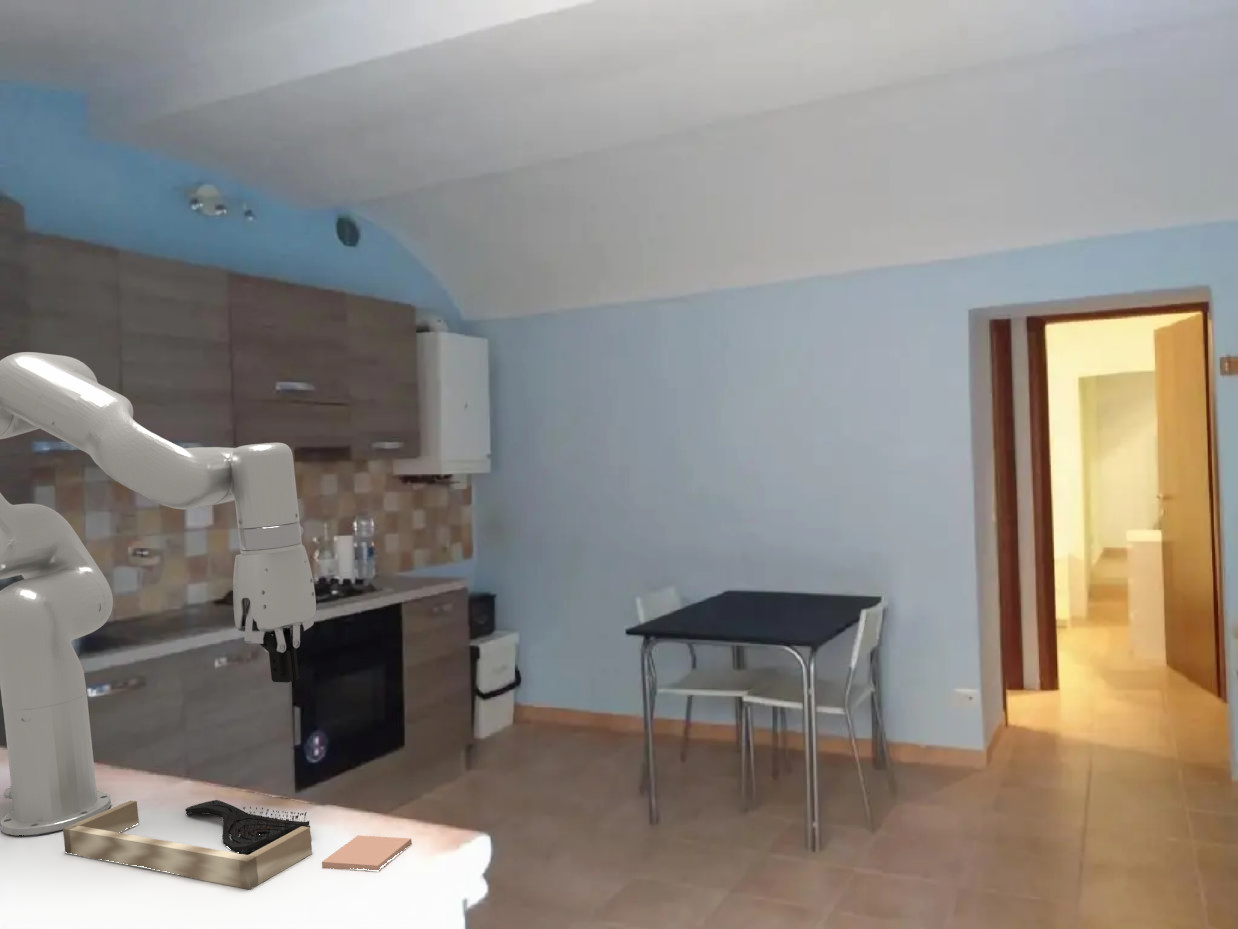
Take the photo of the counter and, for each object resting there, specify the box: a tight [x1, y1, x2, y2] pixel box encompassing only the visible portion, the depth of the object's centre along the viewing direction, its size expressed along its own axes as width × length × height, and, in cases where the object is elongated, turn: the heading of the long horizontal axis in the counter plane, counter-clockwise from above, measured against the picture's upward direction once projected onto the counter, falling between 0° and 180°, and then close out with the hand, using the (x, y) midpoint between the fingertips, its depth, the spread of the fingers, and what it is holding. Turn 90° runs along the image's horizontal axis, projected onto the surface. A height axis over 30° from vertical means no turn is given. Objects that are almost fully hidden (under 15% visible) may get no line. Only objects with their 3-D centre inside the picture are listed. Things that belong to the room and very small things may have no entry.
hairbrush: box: [184, 799, 311, 854], centre depth 121 cm, size 8×4×25 cm
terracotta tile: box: [321, 835, 413, 870], centre depth 110 cm, size 7×7×1 cm
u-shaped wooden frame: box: [62, 800, 313, 890], centre depth 114 cm, size 30×9×3 cm, turn 63°
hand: (285, 680), depth 128 cm, fingers closed
